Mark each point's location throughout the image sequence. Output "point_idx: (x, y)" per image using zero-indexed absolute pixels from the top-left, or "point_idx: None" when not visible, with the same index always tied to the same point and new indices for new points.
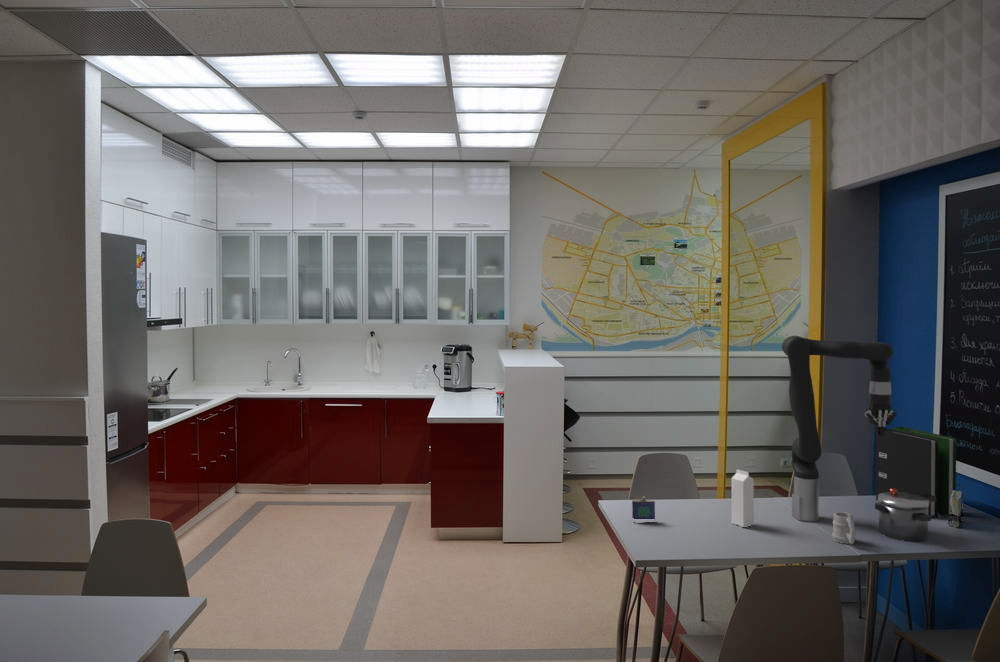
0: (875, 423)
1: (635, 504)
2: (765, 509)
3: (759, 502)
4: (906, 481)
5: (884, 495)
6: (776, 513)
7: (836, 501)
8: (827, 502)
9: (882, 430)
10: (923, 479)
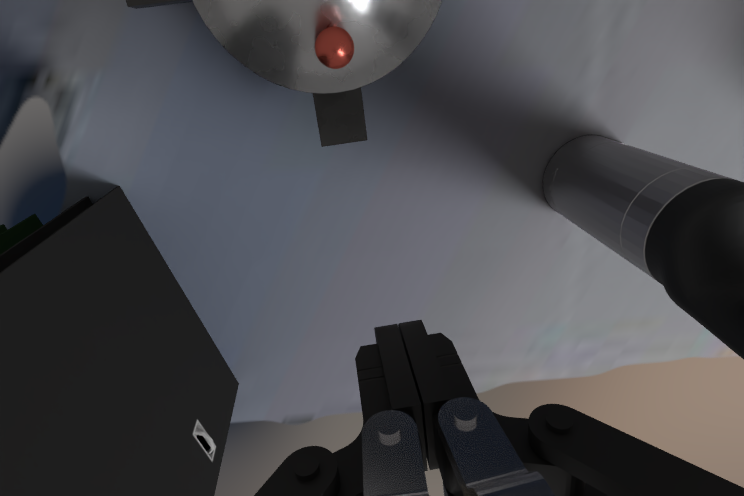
0: (569, 427)
1: None
2: None
3: (635, 330)
4: (137, 347)
5: (396, 21)
6: None
7: None
8: None
9: (398, 367)
10: (63, 286)
